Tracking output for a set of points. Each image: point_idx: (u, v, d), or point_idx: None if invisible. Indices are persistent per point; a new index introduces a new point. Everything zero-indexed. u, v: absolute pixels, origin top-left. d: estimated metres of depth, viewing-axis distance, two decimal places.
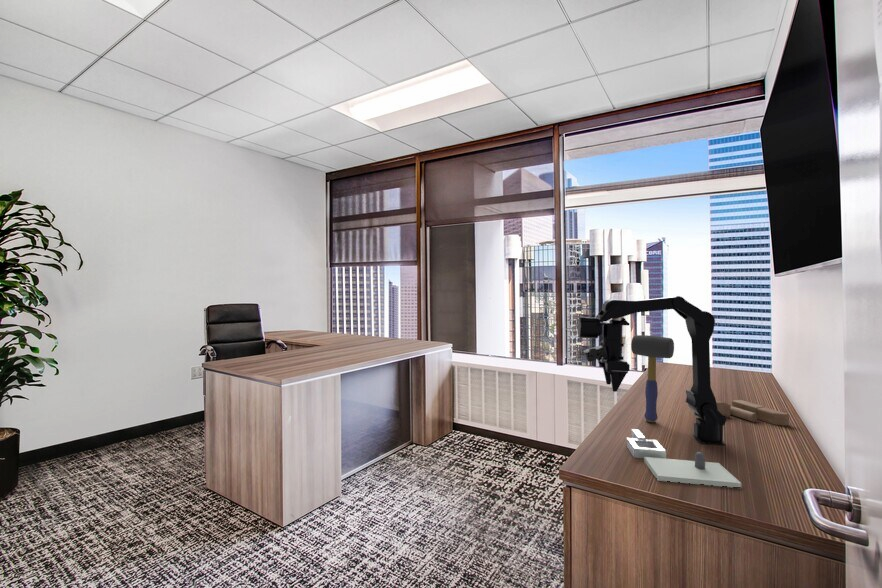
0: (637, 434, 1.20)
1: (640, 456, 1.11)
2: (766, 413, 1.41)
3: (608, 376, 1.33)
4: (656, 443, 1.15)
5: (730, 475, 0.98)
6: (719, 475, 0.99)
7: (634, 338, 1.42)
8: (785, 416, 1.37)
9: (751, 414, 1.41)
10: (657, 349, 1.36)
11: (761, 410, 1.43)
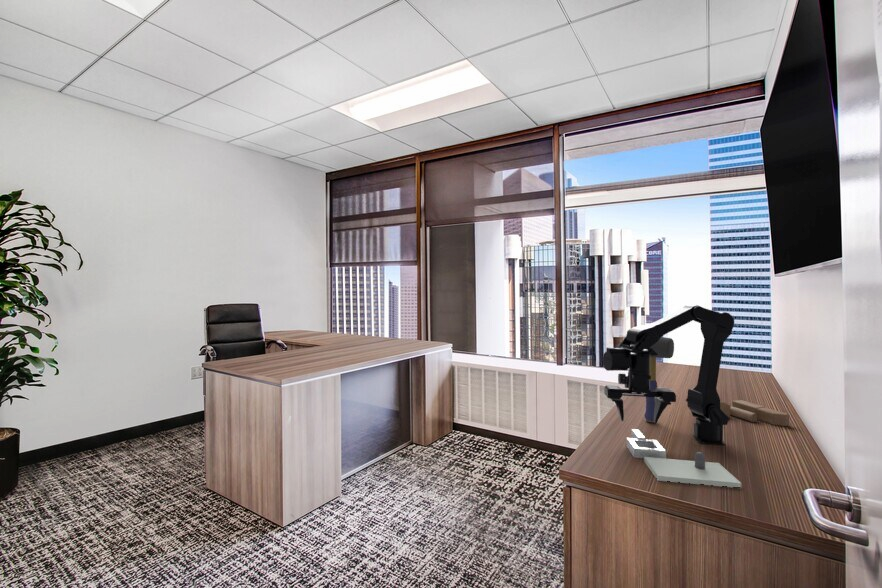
0: (637, 434, 1.20)
1: (640, 456, 1.11)
2: (766, 413, 1.41)
3: (655, 414, 1.21)
4: (656, 443, 1.15)
5: (730, 475, 0.98)
6: (719, 475, 0.99)
7: None
8: (785, 416, 1.37)
9: (751, 414, 1.41)
10: (657, 349, 1.36)
11: (761, 410, 1.42)
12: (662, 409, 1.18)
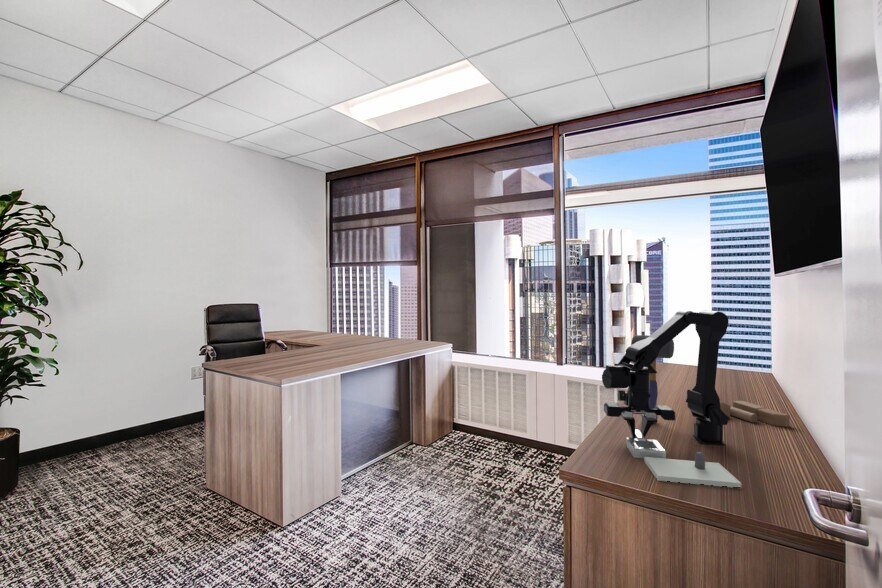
0: (637, 434, 1.20)
1: (640, 456, 1.11)
2: (766, 414, 1.40)
3: (641, 431, 1.22)
4: (656, 443, 1.15)
5: (730, 475, 0.98)
6: (719, 475, 0.99)
7: (634, 338, 1.42)
8: (785, 417, 1.36)
9: (751, 415, 1.41)
10: None
11: (761, 411, 1.42)
12: (649, 426, 1.19)
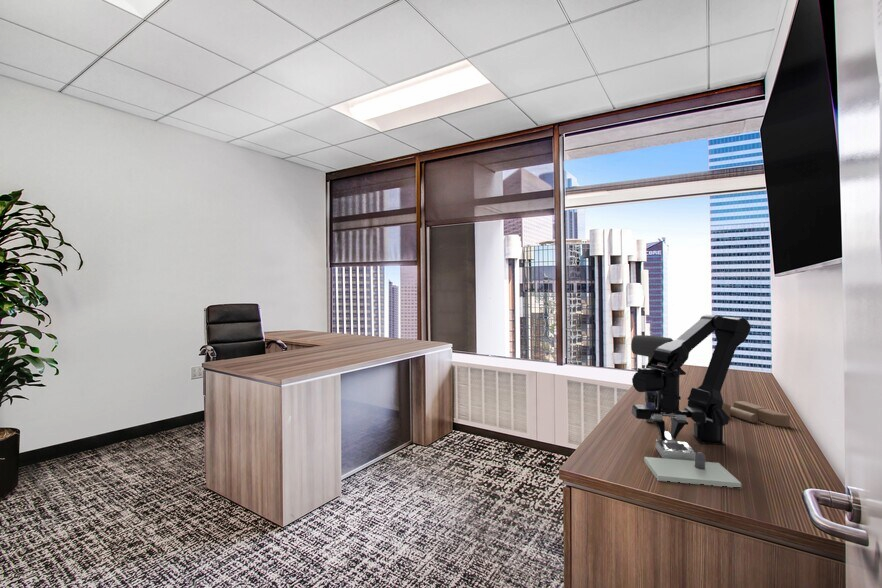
0: (667, 436, 1.19)
1: (670, 458, 1.10)
2: (767, 414, 1.40)
3: (671, 433, 1.20)
4: (686, 445, 1.13)
5: (730, 475, 0.98)
6: (719, 475, 0.99)
7: (634, 338, 1.42)
8: (786, 417, 1.36)
9: (751, 415, 1.40)
10: None
11: (762, 411, 1.42)
12: (679, 429, 1.18)
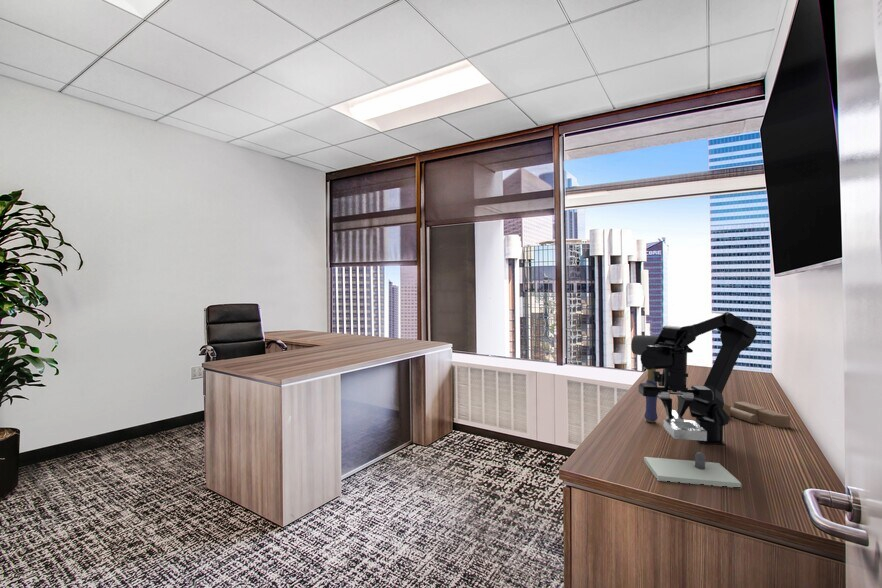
0: (674, 415, 1.18)
1: (680, 437, 1.09)
2: (767, 415, 1.39)
3: (678, 411, 1.19)
4: (695, 424, 1.13)
5: (730, 475, 0.98)
6: (719, 475, 0.99)
7: (634, 338, 1.42)
8: (786, 418, 1.35)
9: (751, 415, 1.40)
10: None
11: (762, 412, 1.41)
12: (686, 407, 1.17)
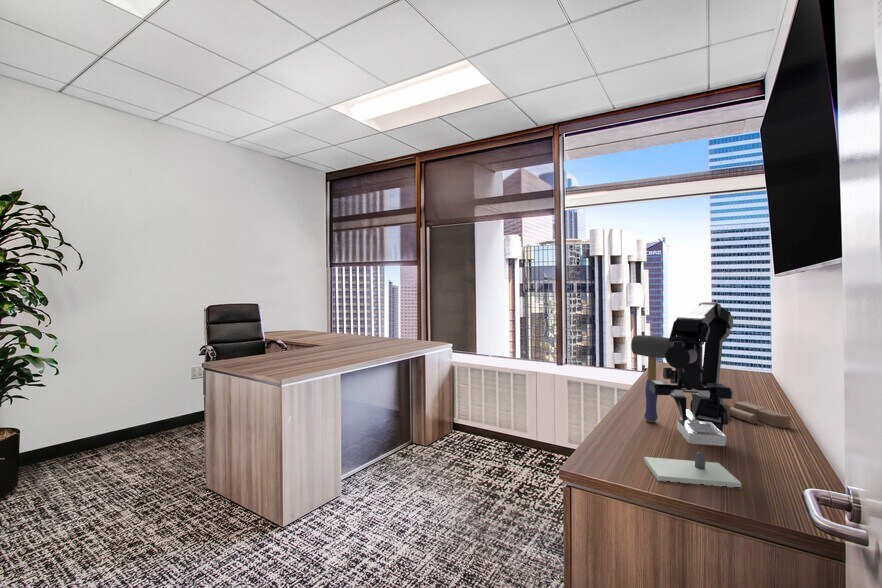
0: (688, 415, 1.08)
1: (696, 442, 0.99)
2: (767, 415, 1.39)
3: (693, 411, 1.10)
4: (712, 426, 1.03)
5: (730, 475, 0.98)
6: (719, 475, 0.99)
7: (634, 338, 1.42)
8: (786, 418, 1.35)
9: (751, 415, 1.40)
10: (657, 349, 1.36)
11: (762, 412, 1.41)
12: (702, 406, 1.07)
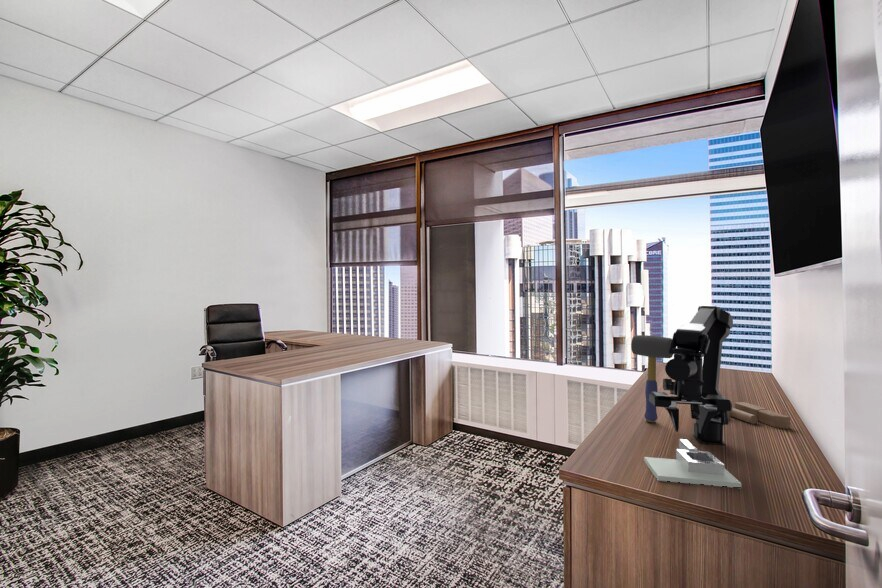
0: (687, 445, 1.09)
1: (695, 470, 1.00)
2: (767, 415, 1.39)
3: (700, 423, 1.09)
4: (711, 455, 1.04)
5: (730, 475, 0.98)
6: (719, 475, 0.99)
7: (634, 338, 1.42)
8: (786, 419, 1.35)
9: (750, 416, 1.39)
10: (657, 349, 1.36)
11: (762, 412, 1.40)
12: (709, 418, 1.07)
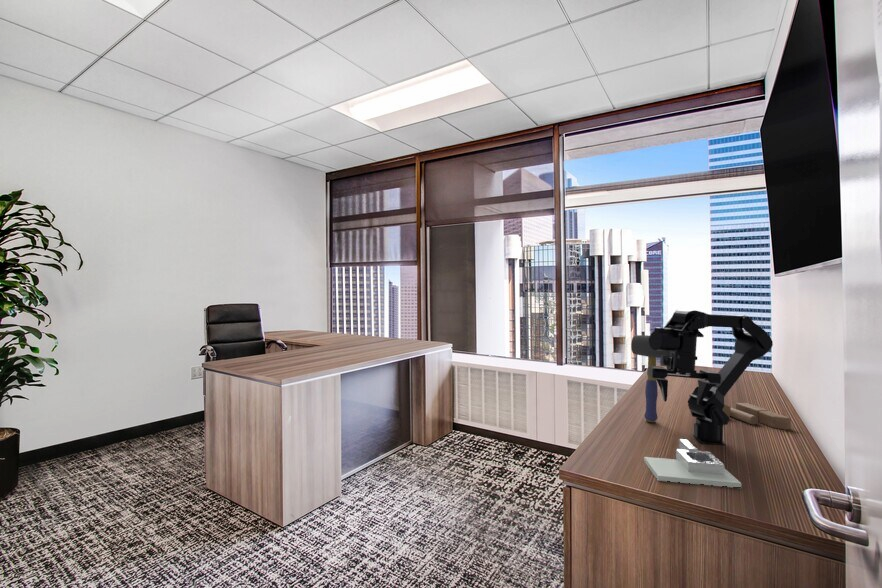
0: (687, 445, 1.09)
1: (695, 470, 1.00)
2: (767, 416, 1.38)
3: (698, 395, 1.21)
4: (711, 455, 1.04)
5: (730, 475, 0.98)
6: (719, 475, 0.99)
7: (634, 338, 1.42)
8: (786, 420, 1.34)
9: (750, 417, 1.39)
10: None
11: (762, 413, 1.40)
12: (707, 390, 1.19)
